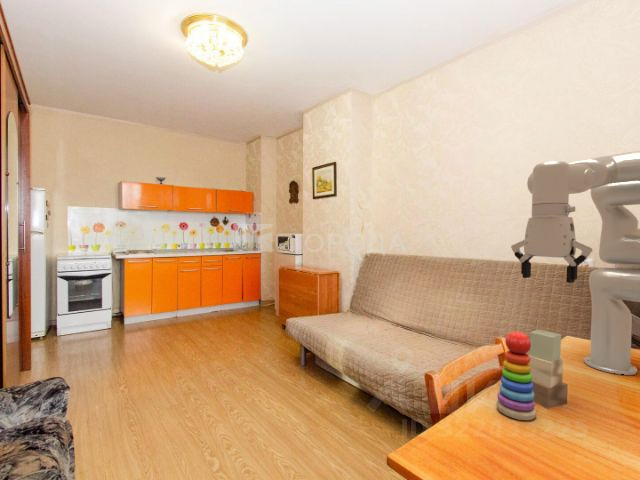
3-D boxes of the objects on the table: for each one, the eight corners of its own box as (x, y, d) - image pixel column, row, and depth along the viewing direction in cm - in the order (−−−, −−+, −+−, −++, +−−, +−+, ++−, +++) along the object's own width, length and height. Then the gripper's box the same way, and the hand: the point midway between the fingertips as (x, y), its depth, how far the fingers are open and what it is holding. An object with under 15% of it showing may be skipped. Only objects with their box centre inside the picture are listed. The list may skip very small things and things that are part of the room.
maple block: (536, 373, 86) (536, 351, 86) (562, 382, 81) (563, 358, 81) (524, 378, 83) (524, 355, 83) (550, 387, 78) (551, 363, 78)
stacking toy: (542, 424, 71) (545, 339, 71) (503, 419, 72) (505, 336, 72) (527, 405, 79) (529, 329, 78) (491, 401, 80) (493, 326, 80)
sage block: (537, 351, 85) (538, 329, 85) (560, 358, 81) (561, 334, 81) (529, 355, 82) (530, 332, 82) (552, 362, 78) (553, 337, 78)
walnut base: (539, 391, 87) (539, 372, 86) (567, 404, 80) (567, 384, 80) (520, 395, 84) (520, 376, 84) (547, 409, 78) (548, 388, 77)
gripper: (598, 211, 76) (596, 283, 77) (519, 214, 91) (517, 275, 91) (587, 209, 72) (584, 285, 72) (506, 212, 86) (504, 276, 87)
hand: (547, 279), depth 82 cm, fingers open, 9 cm apart
